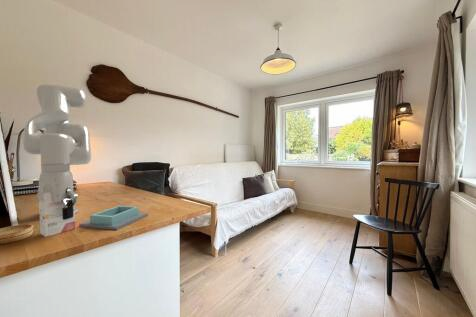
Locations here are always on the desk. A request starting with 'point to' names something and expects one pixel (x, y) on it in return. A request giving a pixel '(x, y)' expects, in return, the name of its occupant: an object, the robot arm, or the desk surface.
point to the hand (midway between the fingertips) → (57, 217)
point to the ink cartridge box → (53, 217)
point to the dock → (114, 218)
